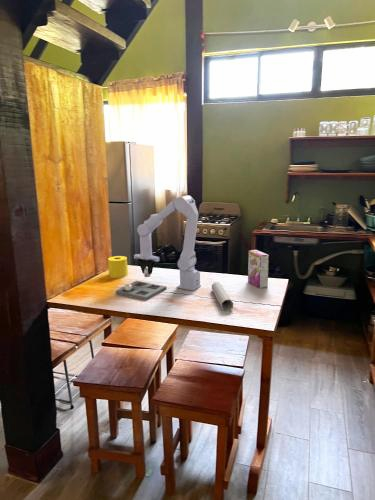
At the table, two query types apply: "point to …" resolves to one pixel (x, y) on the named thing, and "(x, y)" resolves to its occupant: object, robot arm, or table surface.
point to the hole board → (142, 290)
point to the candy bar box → (258, 268)
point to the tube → (222, 296)
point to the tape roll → (117, 266)
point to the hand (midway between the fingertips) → (147, 273)
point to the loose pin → (146, 272)
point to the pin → (128, 288)
